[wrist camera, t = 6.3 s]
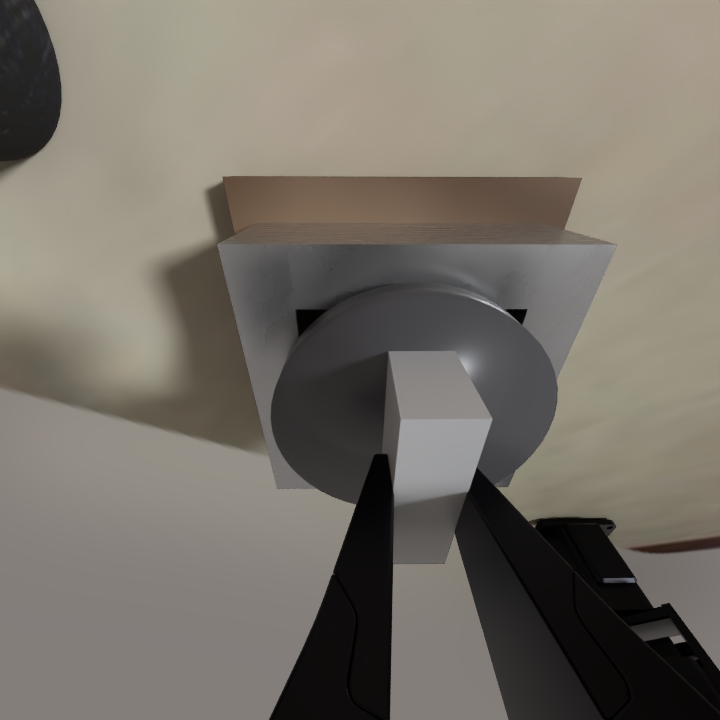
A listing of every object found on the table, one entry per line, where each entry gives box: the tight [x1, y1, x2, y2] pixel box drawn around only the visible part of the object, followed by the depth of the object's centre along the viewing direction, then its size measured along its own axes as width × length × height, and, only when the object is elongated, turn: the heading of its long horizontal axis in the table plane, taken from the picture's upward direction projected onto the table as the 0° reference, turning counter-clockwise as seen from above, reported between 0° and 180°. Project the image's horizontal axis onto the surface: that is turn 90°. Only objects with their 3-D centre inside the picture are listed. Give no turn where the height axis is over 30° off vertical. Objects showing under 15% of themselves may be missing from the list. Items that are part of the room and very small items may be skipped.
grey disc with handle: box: [270, 282, 558, 564], centre depth 10 cm, size 9×9×7 cm
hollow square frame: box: [217, 223, 617, 489], centre depth 13 cm, size 11×11×4 cm
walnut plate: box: [223, 176, 582, 319], centre depth 15 cm, size 14×13×1 cm
